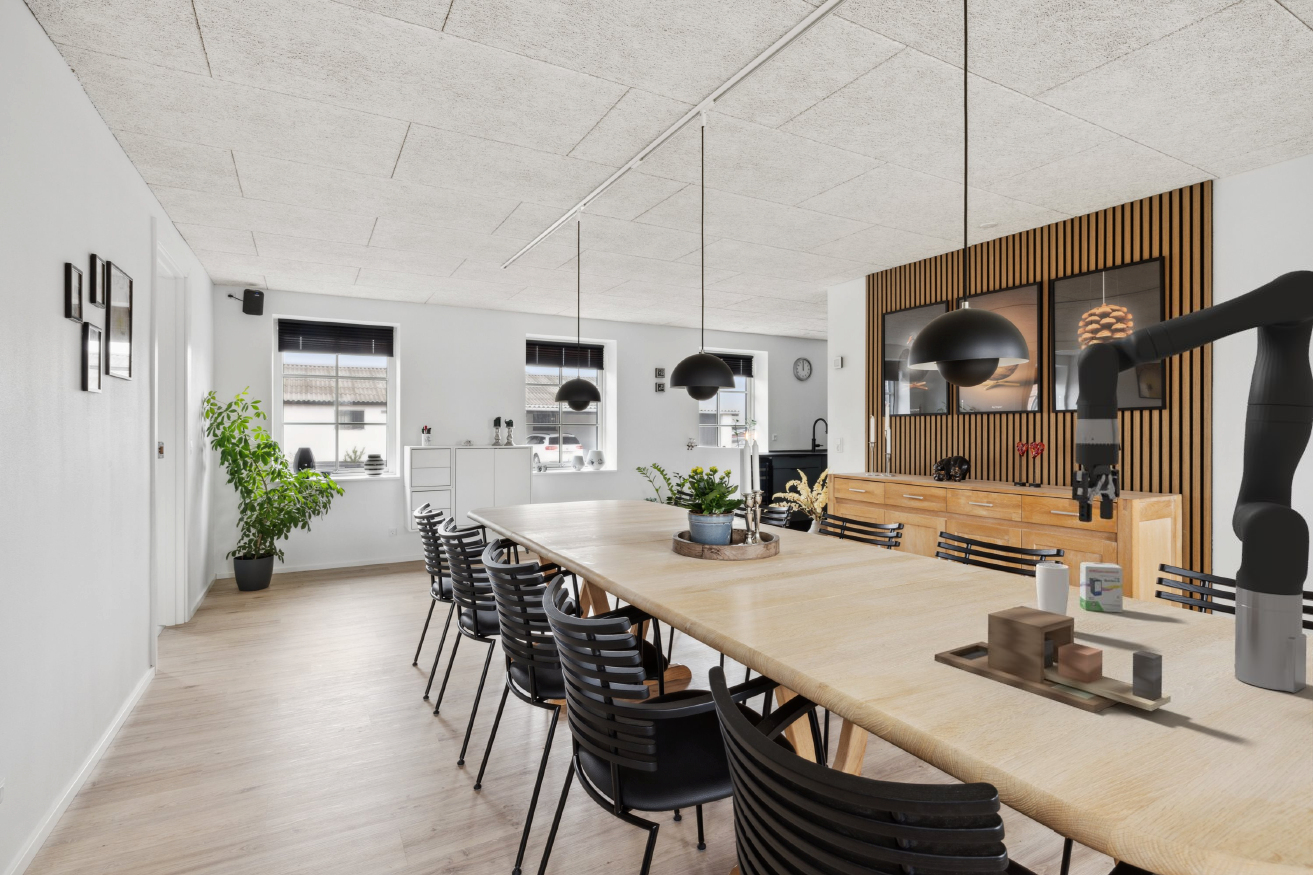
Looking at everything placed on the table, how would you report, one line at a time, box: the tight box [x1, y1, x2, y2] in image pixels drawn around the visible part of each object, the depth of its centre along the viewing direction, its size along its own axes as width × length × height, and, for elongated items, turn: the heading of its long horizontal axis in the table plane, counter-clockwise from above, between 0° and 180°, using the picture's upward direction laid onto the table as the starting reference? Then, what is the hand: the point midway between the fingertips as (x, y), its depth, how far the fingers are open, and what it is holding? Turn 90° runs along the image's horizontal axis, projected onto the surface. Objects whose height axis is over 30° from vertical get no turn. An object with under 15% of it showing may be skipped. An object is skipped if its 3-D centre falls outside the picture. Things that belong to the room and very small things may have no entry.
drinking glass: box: [1035, 562, 1070, 616], centre depth 159 cm, size 7×7×15 cm
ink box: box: [1079, 561, 1124, 613], centre depth 177 cm, size 9×5×12 cm, turn 73°
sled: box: [1044, 637, 1172, 712], centre depth 120 cm, size 21×7×8 cm, turn 32°
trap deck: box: [934, 605, 1133, 714], centre depth 129 cm, size 30×16×11 cm, turn 32°
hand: (1096, 520), depth 140 cm, fingers open, 8 cm apart
